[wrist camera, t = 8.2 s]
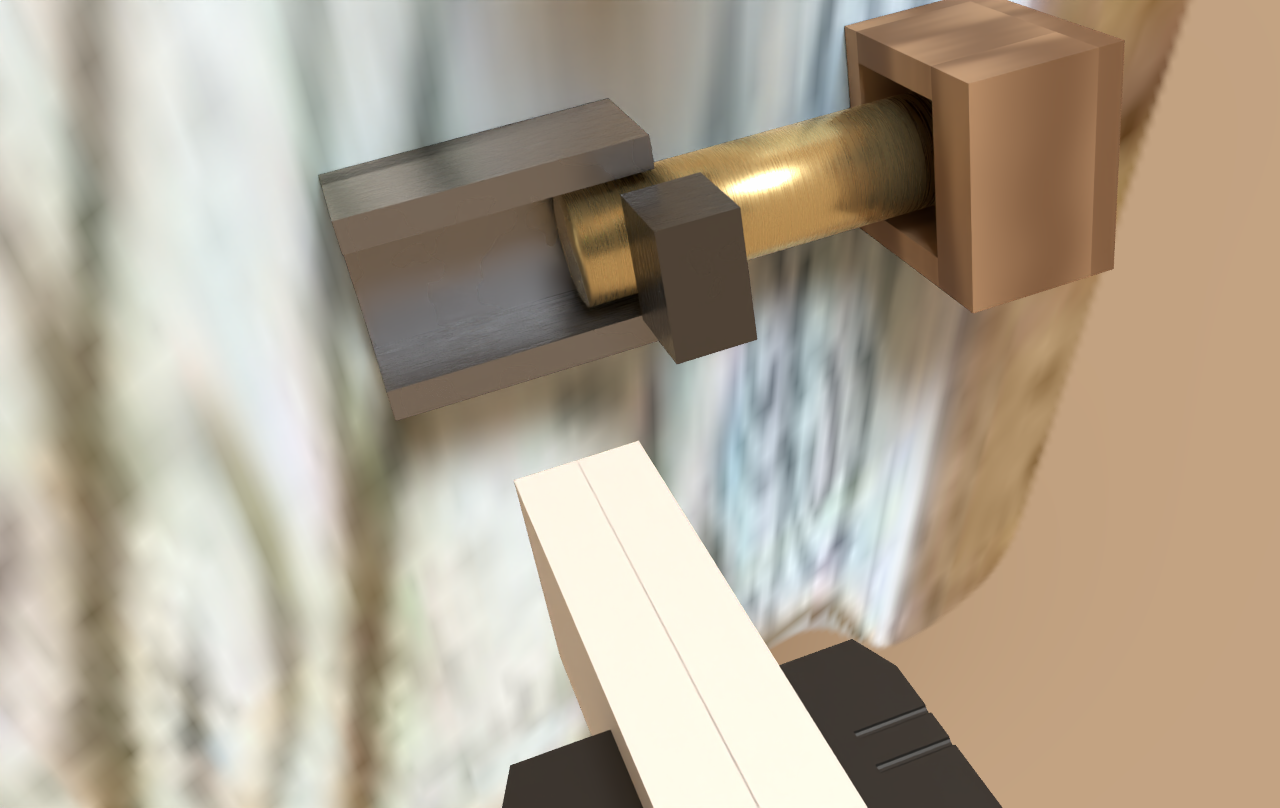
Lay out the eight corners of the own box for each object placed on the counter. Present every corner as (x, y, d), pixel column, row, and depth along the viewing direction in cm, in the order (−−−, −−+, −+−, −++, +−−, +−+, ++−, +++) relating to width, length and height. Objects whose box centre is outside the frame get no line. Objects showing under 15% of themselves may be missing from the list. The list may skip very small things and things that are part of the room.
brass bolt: (569, 285, 39) (632, 378, 33) (544, 166, 37) (606, 245, 31) (935, 178, 41) (1050, 248, 36) (931, 61, 39) (1053, 117, 34)
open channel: (378, 361, 39) (395, 421, 36) (318, 175, 36) (331, 221, 32) (641, 283, 41) (682, 333, 37) (607, 98, 37) (648, 135, 34)
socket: (859, 227, 42) (973, 313, 36) (844, 26, 39) (968, 83, 33) (982, 191, 43) (1113, 268, 37) (979, -10, 40) (1124, 39, 33)
